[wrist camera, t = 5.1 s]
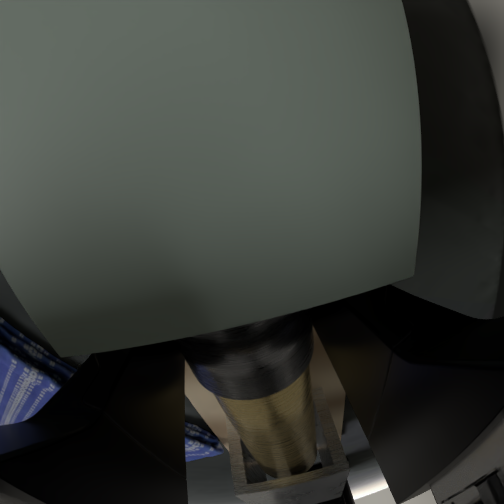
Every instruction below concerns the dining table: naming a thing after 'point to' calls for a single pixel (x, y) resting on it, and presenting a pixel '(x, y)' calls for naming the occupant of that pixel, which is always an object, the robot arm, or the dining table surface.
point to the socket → (202, 162)
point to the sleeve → (298, 486)
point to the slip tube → (263, 387)
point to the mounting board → (320, 377)
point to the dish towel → (57, 387)
